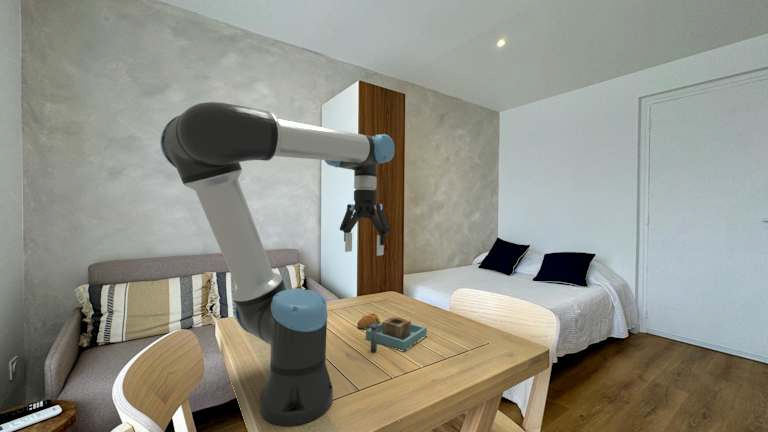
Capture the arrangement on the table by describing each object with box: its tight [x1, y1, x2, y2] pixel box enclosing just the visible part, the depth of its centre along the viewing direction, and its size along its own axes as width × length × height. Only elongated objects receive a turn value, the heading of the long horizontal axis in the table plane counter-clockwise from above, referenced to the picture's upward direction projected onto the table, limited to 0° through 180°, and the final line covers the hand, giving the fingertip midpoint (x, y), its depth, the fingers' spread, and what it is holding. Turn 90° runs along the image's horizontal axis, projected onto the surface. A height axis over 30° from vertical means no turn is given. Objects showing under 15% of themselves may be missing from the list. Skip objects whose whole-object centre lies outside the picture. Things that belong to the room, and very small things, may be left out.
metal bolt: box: [370, 323, 379, 354], centre depth 89 cm, size 3×3×8 cm
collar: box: [381, 316, 412, 340], centre depth 100 cm, size 7×7×5 cm
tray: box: [365, 322, 428, 352], centre depth 100 cm, size 15×15×3 cm
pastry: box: [357, 313, 381, 330], centre depth 110 cm, size 9×7×4 cm
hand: (363, 253), depth 98 cm, fingers open, 13 cm apart
